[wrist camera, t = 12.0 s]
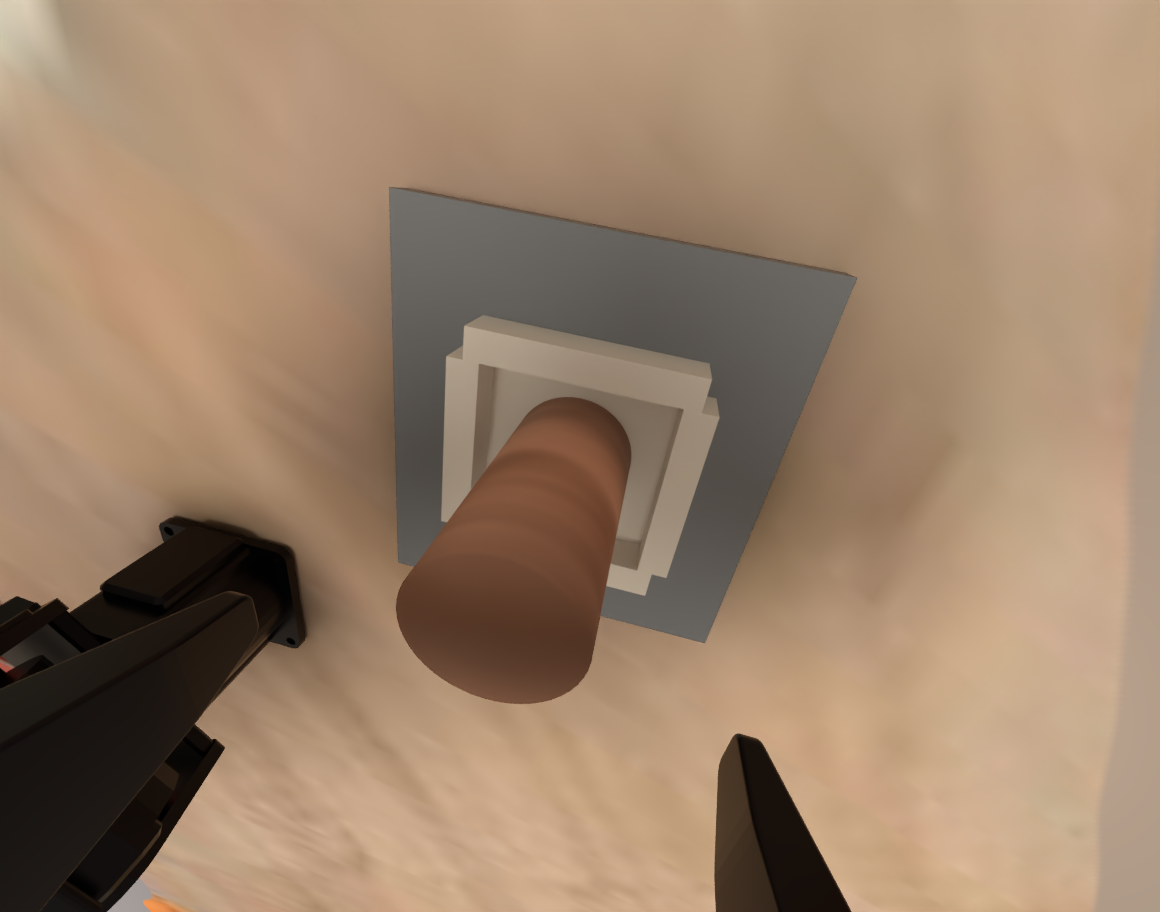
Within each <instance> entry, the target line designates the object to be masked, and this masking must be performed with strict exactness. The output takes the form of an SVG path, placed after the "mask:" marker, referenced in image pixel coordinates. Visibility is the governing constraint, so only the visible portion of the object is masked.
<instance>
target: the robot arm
mask: <svg viewBox="0 0 1160 912" xmlns="http://www.w3.org/2000/svg"><path fill="white" fill-rule="evenodd" d="M159 529H160V532H161V535H162V538H163V541H164V543H163V544H161V545H160V546H158V547H156V548H155V549H153V550H152V551H150V552H149V553H147V554H146V555H144V556H143V557H141V558H140V559H138V560H137V561H135V562H134V563H132V564H130V565H129V566H127V567H126V568H124V569H123V570H121V571H120V572H118V573H117V574H115V575H114V576H112V577H111V578H109V579H108V580H106V581H105V582H104V583H103V584H102V585H100V590H101V592H100V593H98V594H97V595H95V596H94V597H92V598H91V599H89V600H88V601H86V602H85V603H83V604H82V605H80V606H79V607H77V608H76V609H74V610H73V611H71V612H70V613H69V612H67V611H66V610H68V609H69V608H68V607H67V606H66V605H64V604H63V603H62V602H61V601H60V600H59V599H58V598H56V599H54V600H52V601H50V602H48V603H46V604H44V605H42V606H40V605H39V604H38V603H37V602H36V603H34V602H31V601H28V600H26V599H23V598H20V597H18V596H16V597H14V598H12V599H11V600H9V601H7V602H5V603H4V604H2V605H0V656H1V657H3V658H4V659H5V660H6V661H8V662H9V663H10V664H11V665H13V666H14V668H13V669H11V670H9V671H8V672H5V671H4V670H2V669H1V668H0V912H107V911H108V910H109V909H110V908H111V907H112V906H113V905H114V904H115V903H116V902H117V901H118V900H119V899H120V898H121V897H122V896H123V895H124V894H125V893H126V892H127V891H128V890H129V889H130V887H131V886H132V885H133V884H134V883H135V882H136V881H137V880H138V878H139V877H140V876H141V875H142V873H143V872H144V871H145V870H146V868H147V867H148V866H149V865H150V863H151V862H152V860H153V859H154V857H155V856H156V855H157V853H158V852H159V850H160V849H161V847H162V846H163V844H164V842H165V841H166V839H167V838H168V836H169V835H170V833H171V832H172V830H173V828H174V827H175V825H176V824H177V822H178V821H179V819H180V818H181V816H182V814H183V813H184V811H185V810H186V808H187V807H188V805H189V804H190V802H191V800H192V799H193V797H194V796H195V794H196V793H197V791H198V790H199V788H200V786H201V785H202V783H203V782H204V780H205V779H206V777H207V776H208V774H209V772H210V771H211V769H212V768H213V766H214V765H215V763H216V762H217V760H218V758H219V757H220V755H221V754H222V752H223V751H224V749H225V747H224V746H223V745H222V744H221V743H220V742H219V741H217V740H216V739H213V740H212V739H211V738H210V737H209V736H207V735H206V734H205V733H204V732H203V731H202V730H201V729H199V728H198V727H197V726H196V725H195V723H196V722H197V720H198V719H199V718H200V717H201V715H202V714H203V712H204V711H205V710H206V708H207V707H208V706H209V705H210V704H211V703H212V702H213V701H214V700H215V699H216V698H217V697H218V696H219V695H220V694H221V693H222V691H223V690H224V689H225V688H226V687H227V686H228V685H229V684H230V683H231V682H232V681H233V680H234V679H235V678H236V677H237V676H238V674H239V673H240V672H241V671H242V670H243V669H244V668H245V667H246V666H247V665H248V664H249V663H250V662H251V661H252V660H253V659H254V657H255V656H256V655H257V654H258V653H259V652H260V651H261V650H262V649H263V648H264V647H265V646H266V645H267V644H268V643H269V642H273V643H277V644H280V645H284V646H287V647H291V648H298V647H299V646H300V645H301V644H302V643H303V642H304V641H305V634H304V628H303V622H302V615H301V609H300V603H299V597H298V590H297V584H296V578H295V572H294V566H293V559H292V556H291V553H290V552H289V551H288V550H287V549H285V548H283V547H281V546H277V545H274V544H270V543H266V542H262V541H259V540H255V539H251V538H247V537H244V536H240V535H236V534H232V533H229V532H225V531H221V530H217V529H214V528H210V527H206V526H202V525H199V524H195V523H191V522H187V521H184V520H180V519H176V518H169V519H167V520H165V521H164V522H162V523H160V525H159ZM714 877H715V902H716V912H851V910H850V908H849V906H848V904H847V902H846V900H845V898H844V896H843V895H842V893H841V891H840V889H839V887H838V885H837V883H836V881H835V879H834V878H833V876H832V874H831V872H830V870H829V868H828V866H827V864H826V862H825V861H824V859H823V857H822V855H821V853H820V851H819V849H818V847H817V845H816V844H815V842H814V840H813V838H812V836H811V834H810V832H809V830H808V828H807V827H806V825H805V823H804V821H803V819H802V817H801V815H800V813H799V811H798V809H797V808H796V806H795V804H794V802H793V800H792V798H791V796H790V794H789V792H788V791H787V789H786V787H785V785H784V783H783V781H782V779H781V777H780V775H779V774H778V772H777V770H776V768H775V766H774V764H773V762H772V760H771V758H770V757H769V755H768V753H767V751H766V749H765V747H764V745H763V744H762V742H761V741H759V740H758V739H756V738H753V737H750V736H746V735H743V734H735V735H734V736H733V737H732V739H731V741H730V743H729V745H728V747H727V749H726V751H725V752H724V754H723V756H722V758H721V761H720V764H719V770H718V790H717V815H716V841H715V874H714Z"/></svg>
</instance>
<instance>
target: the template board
mask: <svg viewBox="0 0 1160 912" xmlns="http://www.w3.org/2000/svg"><path fill="white" fill-rule="evenodd" d="M389 205H390V247H391V289H392V330H393V372H394V413H395V455H396V497H397V538H398V562H399V563H402V564H406V565H410V566H414V567H415V565H416V564H417V562H418V561H419V560H420V558H421V557H422V556H423V554H424V553H425V552H426V550H427V549H428V548H429V546H430V545H431V543H432V542H433V541H434V539H435V538H436V537H437V535H438V534H439V533H440V531H441V530H442V529H443V527H444V526H445V524H446V523H447V522H448V520H449V519H450V518H451V516H452V515H453V514H454V512H455V511H456V510H457V508H458V507H459V505H460V504H461V503H462V501H463V500H464V499H465V497H466V496H467V495H468V493H469V492H470V491H471V489H472V488H473V487H474V485H475V484H476V482H477V481H478V480H479V478H480V477H481V476H482V474H483V473H484V472H485V470H486V469H487V468H488V466H489V465H490V463H491V462H492V461H493V459H494V458H495V457H496V455H497V454H498V453H499V451H500V450H501V449H502V447H503V446H504V444H505V443H506V442H507V440H508V439H509V438H510V436H511V435H512V434H513V432H514V431H515V430H516V428H517V427H518V425H519V424H520V423H521V421H522V420H523V419H524V417H525V416H526V415H527V414H528V413H529V412H530V411H531V410H532V409H533V408H534V407H536V406H537V405H539V404H541V403H543V402H545V401H547V400H550V399H554V398H559V397H576V398H582V399H585V400H589V401H592V402H594V403H596V404H598V405H600V406H602V407H603V408H605V409H606V410H608V411H609V412H610V413H611V414H612V415H613V416H614V417H616V418H617V420H618V421H619V422H620V423H621V425H622V426H623V428H624V430H625V431H626V434H627V436H628V438H629V442H630V446H631V464H630V469H629V474H628V479H627V484H626V489H625V494H624V499H623V504H622V509H621V514H620V519H619V525H618V530H617V535H616V540H615V545H614V550H613V555H612V560H611V565H610V570H609V575H608V580H607V585H606V590H605V595H604V600H603V605H602V610H601V615H600V616H603V617H607V618H611V619H615V620H619V621H622V622H626V623H630V624H634V625H637V626H641V627H645V628H649V629H653V630H656V631H660V632H664V633H668V634H672V635H675V636H679V637H683V638H687V639H691V640H694V641H698V642H702V643H705V641H706V639H707V637H708V634H709V632H710V629H711V627H712V625H713V622H714V620H715V618H716V615H717V613H718V610H719V608H720V606H721V603H722V601H723V598H724V596H725V594H726V591H727V589H728V586H729V584H730V582H731V579H732V577H733V574H734V572H735V570H736V567H737V565H738V562H739V560H740V558H741V555H742V553H743V551H744V548H745V546H746V543H747V541H748V539H749V536H750V534H751V531H752V529H753V527H754V524H755V522H756V519H757V517H758V515H759V512H760V510H761V507H762V505H763V503H764V500H765V498H766V495H767V493H768V491H769V488H770V486H771V484H772V481H773V479H774V476H775V474H776V472H777V469H778V467H779V464H780V462H781V460H782V457H783V455H784V452H785V450H786V448H787V445H788V443H789V440H790V438H791V436H792V433H793V431H794V428H795V426H796V424H797V421H798V419H799V417H800V414H801V412H802V409H803V407H804V405H805V402H806V400H807V397H808V395H809V393H810V390H811V388H812V385H813V383H814V381H815V378H816V376H817V373H818V371H819V369H820V366H821V364H822V361H823V359H824V357H825V354H826V352H827V350H828V347H829V345H830V342H831V340H832V338H833V335H834V333H835V330H836V328H837V326H838V323H839V321H840V318H841V316H842V314H843V311H844V309H845V306H846V304H847V302H848V299H849V297H850V294H851V292H852V290H853V287H854V285H855V283H856V280H857V278H856V277H854V276H852V275H849V274H847V273H843V272H838V271H832V270H827V269H822V268H817V267H812V266H807V265H801V264H796V263H791V262H786V261H781V260H776V259H770V258H765V257H760V256H755V255H750V254H745V253H739V252H734V251H729V250H724V249H719V248H713V247H708V246H703V245H698V244H693V243H688V242H682V241H677V240H672V239H667V238H662V237H657V236H651V235H646V234H641V233H636V232H631V231H626V230H620V229H615V228H610V227H605V226H600V225H595V224H589V223H584V222H579V221H574V220H569V219H563V218H558V217H553V216H548V215H543V214H538V213H532V212H527V211H522V210H517V209H512V208H507V207H501V206H496V205H491V204H486V203H481V202H476V201H470V200H465V199H460V198H455V197H450V196H445V195H439V194H434V193H429V192H424V191H419V190H413V189H408V188H394V187H389Z"/></svg>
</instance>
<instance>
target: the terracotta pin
mask: <svg viewBox="0 0 1160 912" xmlns="http://www.w3.org/2000/svg"><path fill="white" fill-rule="evenodd" d="M630 464H631V446H630V442H629V438H628V436H627V434H626V431H625V430H624V428H623V426H622V425H621V423H620V422H619V421H618V420H617V418H616V417H614V416H613V415H612V414H611V413H610V412H609V411H608V410H606V409H605V408H603V407H602V406H600V405H598V404H596V403H594V402H592V401H589V400H585V399H582V398H576V397H559V398H554V399H550V400H547V401H545V402H543V403H541V404H539V405H537V406H536V407H534V408H533V409H532V410H531V411H530V412H529V413H528V414H527V415H526V416H525V417H524V419H523V420H522V421H521V423H520V424H519V425H518V427H517V428H516V430H515V431H514V432H513V434H512V435H511V436H510V438H509V439H508V440H507V442H506V443H505V444H504V446H503V447H502V449H501V450H500V451H499V453H498V454H497V455H496V457H495V458H494V459H493V461H492V462H491V463H490V465H489V466H488V468H487V469H486V470H485V472H484V473H483V474H482V476H481V477H480V478H479V480H478V481H477V482H476V484H475V485H474V487H473V488H472V489H471V491H470V492H469V493H468V495H467V496H466V497H465V499H464V500H463V501H462V503H461V504H460V505H459V507H458V508H457V510H456V511H455V512H454V514H453V515H452V516H451V518H450V519H449V520H448V522H447V523H446V524H445V526H444V527H443V529H442V530H441V531H440V533H439V534H438V535H437V537H436V538H435V539H434V541H433V542H432V543H431V545H430V546H429V548H428V549H427V550H426V552H425V553H424V554H423V556H422V557H421V558H420V560H419V561H418V562H417V564H416V565H415V567H414V568H413V569H412V571H411V572H410V573H409V575H408V576H407V577H406V579H405V580H404V582H403V583H402V585H401V587H400V590H399V592H398V597H397V603H396V612H397V619H398V623H399V627H400V629H401V632H402V634H403V636H404V638H405V640H406V642H407V643H408V645H409V647H410V648H411V649H412V651H413V652H414V653H415V655H416V656H417V657H418V658H419V659H420V660H421V661H422V662H423V663H424V664H425V665H426V666H427V667H428V668H429V669H430V670H431V671H433V672H434V673H435V674H437V675H438V676H439V677H441V678H442V679H444V680H445V681H447V682H448V683H450V684H452V685H453V686H455V687H457V688H459V689H461V690H463V691H466V692H468V693H470V694H473V695H476V696H479V697H482V698H485V699H489V700H493V701H498V702H504V703H514V704H530V703H538V702H544V701H548V700H552V699H554V698H557V697H559V696H562V695H563V694H565V693H567V692H569V691H570V690H572V689H573V688H574V687H575V686H577V685H578V684H579V682H580V681H581V680H582V679H583V678H584V676H585V675H586V673H587V671H588V669H589V666H590V664H591V660H592V655H593V650H594V645H595V640H596V635H597V630H598V625H599V620H600V615H601V610H602V605H603V600H604V595H605V590H606V585H607V580H608V575H609V570H610V565H611V560H612V555H613V550H614V545H615V540H616V535H617V530H618V525H619V519H620V514H621V509H622V504H623V499H624V494H625V489H626V484H627V479H628V474H629V469H630Z"/></svg>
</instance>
